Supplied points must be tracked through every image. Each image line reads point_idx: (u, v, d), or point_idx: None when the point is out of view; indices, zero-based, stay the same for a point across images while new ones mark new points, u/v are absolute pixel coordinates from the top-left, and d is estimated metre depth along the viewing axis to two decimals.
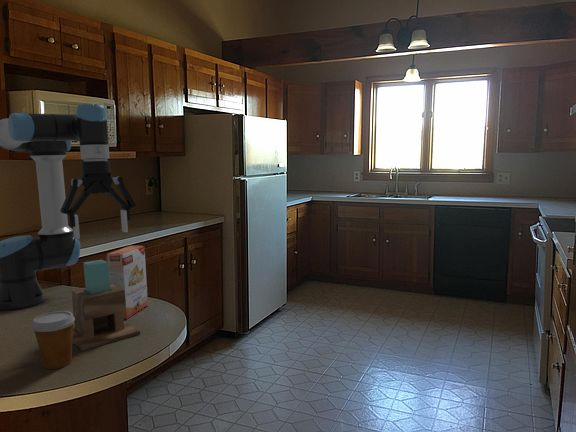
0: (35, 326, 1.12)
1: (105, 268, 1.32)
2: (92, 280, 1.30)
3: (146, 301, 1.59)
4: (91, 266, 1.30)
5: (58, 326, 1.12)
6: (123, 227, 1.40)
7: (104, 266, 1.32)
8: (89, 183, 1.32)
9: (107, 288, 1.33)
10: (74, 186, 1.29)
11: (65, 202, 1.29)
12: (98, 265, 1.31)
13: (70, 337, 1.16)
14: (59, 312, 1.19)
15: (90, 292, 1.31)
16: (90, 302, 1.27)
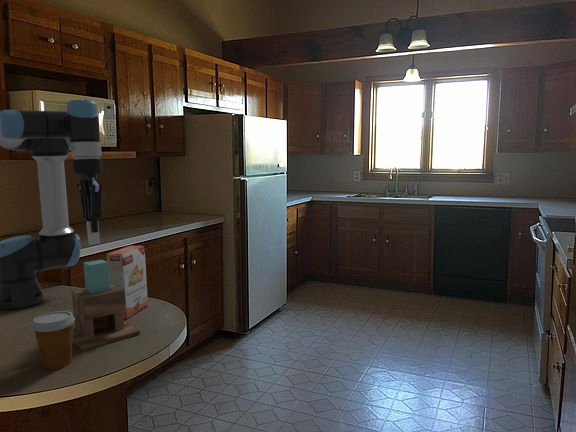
0: (35, 326, 1.12)
1: (105, 268, 1.32)
2: (92, 280, 1.30)
3: (146, 301, 1.59)
4: (91, 266, 1.30)
5: (58, 326, 1.12)
6: None
7: (104, 266, 1.32)
8: (81, 179, 1.31)
9: (107, 288, 1.33)
10: (79, 190, 1.33)
11: None
12: (98, 265, 1.31)
13: (70, 337, 1.16)
14: (59, 312, 1.19)
15: (90, 292, 1.31)
16: (90, 302, 1.27)
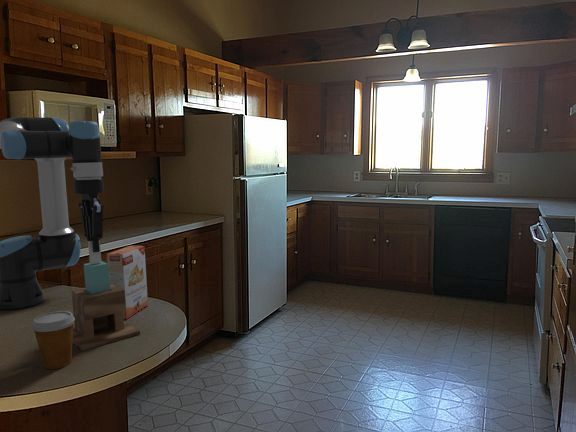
0: (35, 326, 1.12)
1: (105, 269, 1.32)
2: (92, 282, 1.30)
3: (146, 301, 1.59)
4: (91, 267, 1.30)
5: (58, 326, 1.12)
6: None
7: (104, 267, 1.32)
8: (83, 199, 1.32)
9: (107, 289, 1.33)
10: (80, 210, 1.34)
11: None
12: (98, 266, 1.31)
13: (70, 337, 1.16)
14: (59, 312, 1.19)
15: (90, 293, 1.31)
16: (90, 302, 1.27)
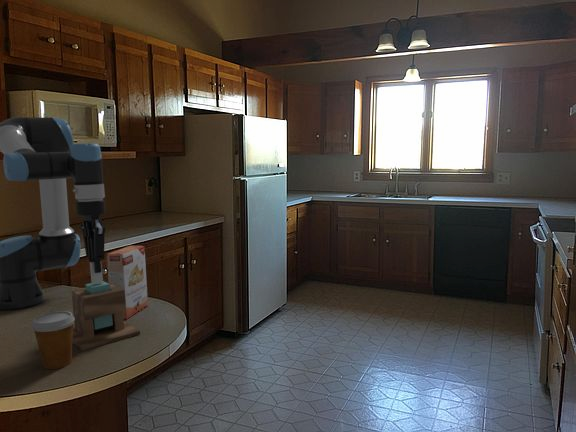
0: (35, 326, 1.12)
1: (107, 290, 1.33)
2: None
3: (146, 301, 1.59)
4: (93, 288, 1.31)
5: (58, 326, 1.12)
6: None
7: (105, 288, 1.33)
8: (85, 220, 1.32)
9: None
10: (82, 230, 1.35)
11: None
12: (100, 287, 1.32)
13: (70, 337, 1.16)
14: (59, 312, 1.19)
15: None
16: (90, 302, 1.27)
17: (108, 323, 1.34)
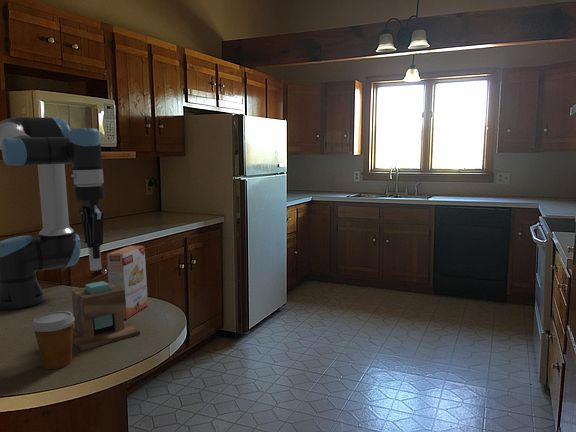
0: (35, 326, 1.12)
1: (107, 290, 1.33)
2: None
3: (146, 301, 1.59)
4: (93, 288, 1.31)
5: (58, 326, 1.12)
6: None
7: (105, 288, 1.33)
8: (83, 206, 1.32)
9: None
10: (81, 216, 1.34)
11: None
12: (100, 287, 1.32)
13: (70, 337, 1.16)
14: (59, 312, 1.19)
15: None
16: (90, 302, 1.27)
17: (108, 323, 1.34)
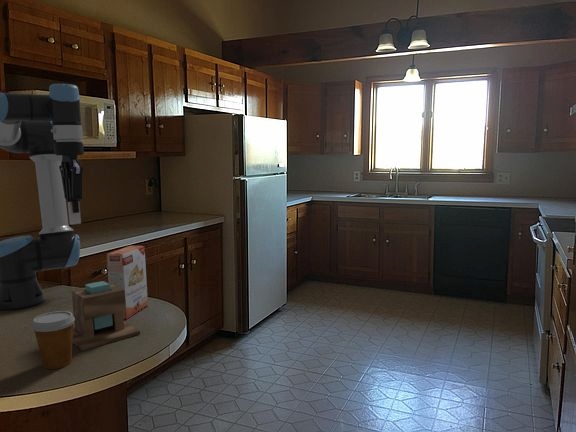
0: (35, 326, 1.12)
1: (107, 290, 1.33)
2: None
3: (146, 301, 1.59)
4: (93, 288, 1.31)
5: (58, 326, 1.12)
6: None
7: (105, 288, 1.33)
8: (63, 161, 1.35)
9: None
10: (60, 172, 1.38)
11: None
12: (100, 287, 1.32)
13: (70, 337, 1.16)
14: (59, 312, 1.19)
15: None
16: (90, 302, 1.27)
17: (108, 323, 1.34)
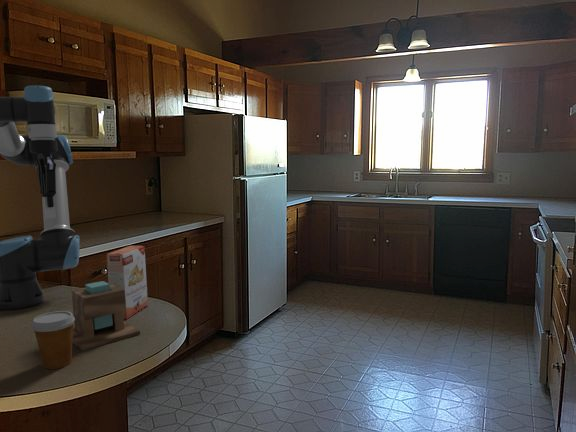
0: (35, 326, 1.12)
1: (107, 290, 1.33)
2: None
3: (146, 301, 1.59)
4: (93, 288, 1.31)
5: (58, 326, 1.12)
6: None
7: (105, 288, 1.33)
8: (38, 159, 1.44)
9: None
10: (37, 169, 1.46)
11: None
12: (100, 287, 1.32)
13: (70, 337, 1.16)
14: (59, 312, 1.19)
15: None
16: (90, 302, 1.27)
17: (108, 323, 1.34)
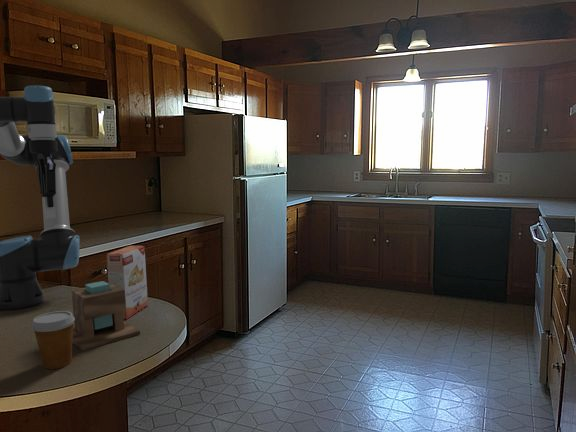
0: (35, 326, 1.12)
1: (107, 290, 1.33)
2: None
3: (146, 301, 1.59)
4: (93, 288, 1.31)
5: (58, 326, 1.12)
6: None
7: (105, 288, 1.33)
8: (38, 159, 1.44)
9: None
10: (37, 169, 1.46)
11: None
12: (100, 287, 1.32)
13: (70, 337, 1.16)
14: (59, 312, 1.19)
15: None
16: (90, 302, 1.27)
17: (108, 323, 1.34)
